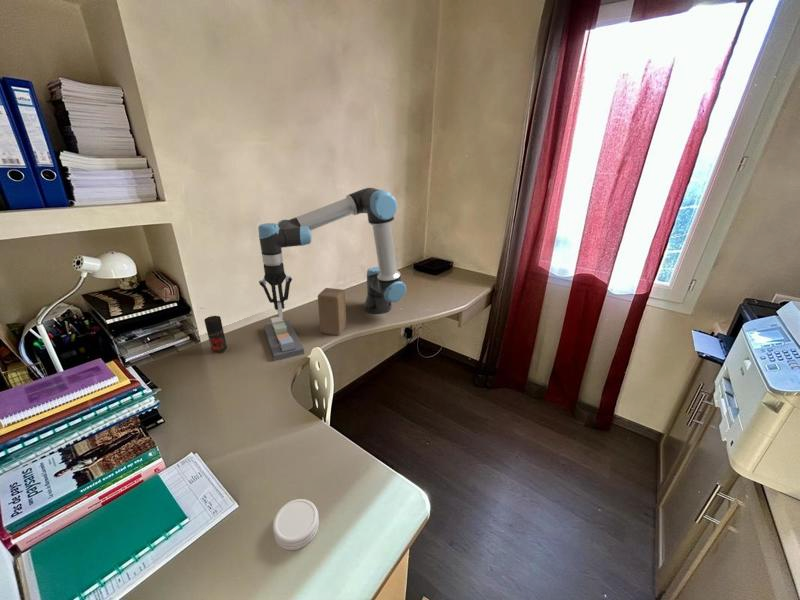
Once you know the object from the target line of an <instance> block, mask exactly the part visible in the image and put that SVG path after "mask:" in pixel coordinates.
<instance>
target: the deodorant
mask: <svg viewBox="0 0 800 600" xmlns="http://www.w3.org/2000/svg"><path fill="white" fill-rule="evenodd" d="M204 325H205V329H206V332H207V333H206V334H207V337H208V341H209V346H210V349H211V353H212V352H213V353H212V354H214V353H219V354H222V353H221V352H223V353H224V351H225V350H226V349H227V350H228V347H227V346H228V345H227V341H226V336H225V333H224V327H223V323H222V319H221V316H219V315H210V316H208V317H206V318H205V319H204ZM227 350H226V351H227ZM226 351H225V352H226Z"/></svg>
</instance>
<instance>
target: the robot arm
mask: <svg viewBox="0 0 800 600" xmlns="http://www.w3.org/2000/svg"><path fill="white" fill-rule="evenodd" d="M397 203H398V202H397V199H396V198H395V196H394V195H393V194H392V193H390V192H388V191H387V190H383V189H377V188H375V187H365V188H362V189H359V190H357V191H354V192H352V193H350V194H346V196H345V198H343V199H340V200H338V201H334V202H333V203H330V204H327V205H325V206H321V207H319V208H316V209H315V210H311V211H309V212H306V213H303V214H300V215H298V216H296V217H293V218H291V219H282V220H279V221H278V222H277V223H274V222H266V223H262V224H260V225H259V226H258V238H259V245H260V250H261V257H262V264H263V271H264V276H263V279H262V280H258V284H259V285H260V286H261V287H262V288H263V290H264V292H265V295H266V297H267V299H268V302H269V303H271V304H273V306H274V309H275V311H277V315H278V317H282V318H283V317H284V315H283V314H284V313H283V309H285V302H286V301H287V300H288V299H289V296H290V295H289V292H290V286H291V283H292V281H293V278H292V277H291V276H289V275H287V274H286V273H285V266H284V263H283V262H284V259H283V258H284V256H283V252H282V251H283V250H282V249H283V248H291V247H300V246H301V247H302V246H306V245H310V244H311V242H312V233H311V231H313V230H316V229H318V228H321V227H323V226H325V225H328V224H330V223H333V222H335V221H338V220H340V219H344V218H346V217H348V216H351V215H352V216H357V215H359V214H367V221H368V224H370V225H371V226H372V231H373V237H374V243H375V250H376V255H377V256H376V257H377V264H378V266H372V267H370V268H368V269H367V271H366V292H367V293H366V297H365V300H364V304H363V307H364V310H365V311H366V312H368V313H372V314H384V313H388V312H390V311H391V310H392V304H393V303H397V302H400V301H401V300H402V299H403V298H404V296H405V295H406V293H407V285H406V284H405V282H403V281H402V274H401V272H400V271H399V270H398V267H397V260H396V253H395V252H396V251H395V243H394V236H393V228H392V223H393V221H394V220H395V217H394V216H395V214H396V212H397V210H398V204H397ZM284 281H285V286H284V293H283V285H282V284H283V283H284ZM267 283H268V284H269V285H270V287H271V293H272V297H271V294H270V292H269V290H268V288H267V286H266V285H267ZM276 286H277V289H278V296H277V289H276ZM277 297H279V300H278V298H277Z"/></svg>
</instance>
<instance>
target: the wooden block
mask: <svg viewBox="0 0 800 600" xmlns="http://www.w3.org/2000/svg"><path fill="white" fill-rule="evenodd" d="M345 291H346V290H345V289H341V288H332V287H325V288H324V289H323V290H321V292H320V293H318V295H317V303H318V304H317V305H318V315H319V316H318V318H319V327H320V328H319V329H320V333H321V334H326V335H333V336H340V335H341V334H342V333H343V332H344V330H345V329H346V327H347V312H346V311H347V307H346V292H345Z"/></svg>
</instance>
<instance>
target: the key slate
mask: <svg viewBox="0 0 800 600" xmlns="http://www.w3.org/2000/svg"><path fill="white" fill-rule="evenodd" d="M279 342H280V347H281V352H286V351H290V350H294V341H293V339H292V337H291V336H290V337H286V338H281V339H279Z"/></svg>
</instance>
